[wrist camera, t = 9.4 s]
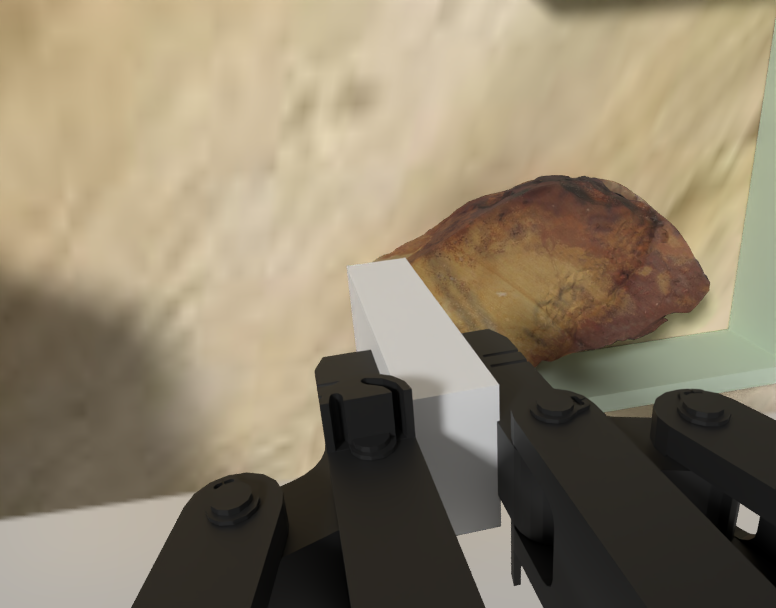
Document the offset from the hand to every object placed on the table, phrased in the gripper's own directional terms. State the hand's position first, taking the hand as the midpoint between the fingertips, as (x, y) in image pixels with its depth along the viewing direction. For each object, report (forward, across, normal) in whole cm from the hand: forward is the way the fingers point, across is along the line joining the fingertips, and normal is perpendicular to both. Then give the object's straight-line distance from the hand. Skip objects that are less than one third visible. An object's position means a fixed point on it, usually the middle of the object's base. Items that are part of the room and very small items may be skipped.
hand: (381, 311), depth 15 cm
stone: (+14, +9, -5) cm, 17 cm away
